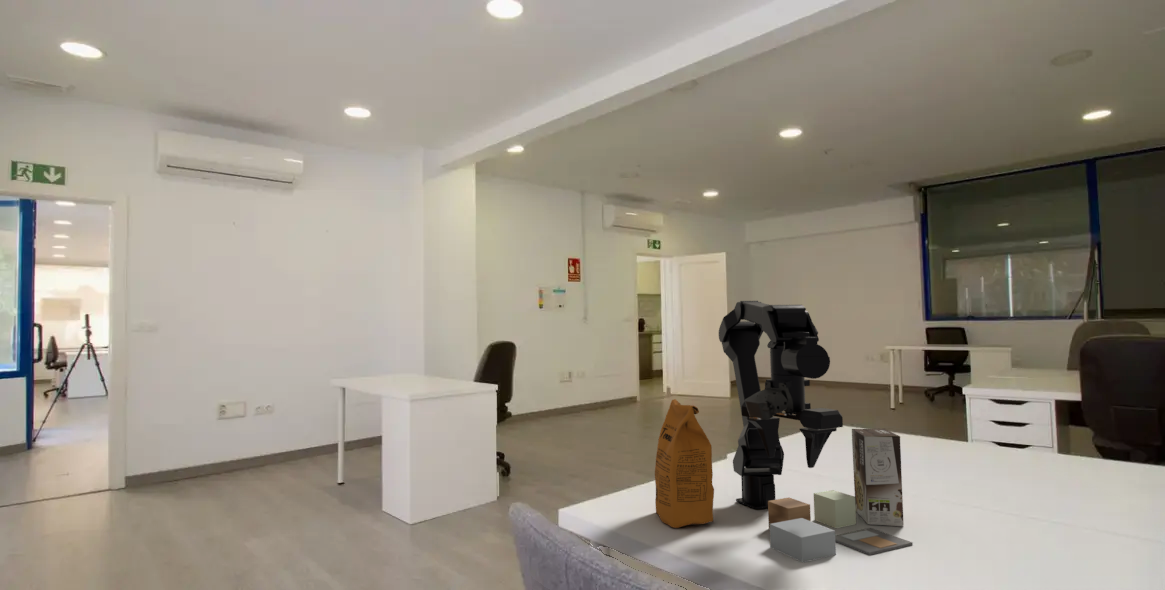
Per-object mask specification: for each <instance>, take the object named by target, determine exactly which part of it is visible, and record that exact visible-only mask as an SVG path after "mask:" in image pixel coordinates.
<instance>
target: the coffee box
mask: <svg viewBox="0 0 1165 590" xmlns="http://www.w3.org/2000/svg"><path fill="white" fill-rule="evenodd" d="M851 445H852V446H851V447H852V463H853V464H852V466H853V467H852V468H853V484H854V485H853V486H854V488H853V489H854V497H855V508H856V514H858V515H859V516H860V518H862V519H863V521H865V523H866V524H867V525H873V526H888V527H889V526H890V527H891V526H892V527H904V504H903V501H904V499H903V483H902V482H903V481H902V480H903V479H902V478H903V477H902V450H901V436H900V435H899V434H896V433H894V432H892V431H890V430H888V429H886V428H851Z"/></svg>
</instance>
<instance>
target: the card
mask: <svg viewBox="0 0 1165 590" xmlns="http://www.w3.org/2000/svg"><path fill="white" fill-rule="evenodd" d="M835 542H836V543H838V544H840V545H843V546H846V547H849V548H851V549H853V550H855V551H858V552H861V553H864V554H866V555H868V556H871V555H876V554H880V553H886V552H889V551H893V550H897V549H901V548H906V547H910V546H913V543H914V542H913V541H909V540H907V539H904V538H900V537H898V536H895V535H893V534H889V533H886V532H884V531H881V530H877V529H875V528H872V527H868V528H864V529H859V530H854V531H848V532H845V533H839V534H835Z"/></svg>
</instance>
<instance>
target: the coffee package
mask: <svg viewBox="0 0 1165 590" xmlns="http://www.w3.org/2000/svg"><path fill="white" fill-rule="evenodd" d="M699 413H700V410H699V408H698V407H697V406H695V405H691V404H690V405H689V404H681V403H680V402H679V401H678V400H677V399H676V398H675V399H672V400H671V402H670V404H669V407H668V410H667V413H666V414H665V419H664V421H663V423H662V426H661V429H660V432H659V437H658V442H657V449H656V454H655V466H654V482H655V513H656V514H657V515H658V517H659V518H660V519H659V520H661V522H662V523H663V524H666V525H668V526H670V527H671V528H673V529H674V528H675V529H679V528H681V527H685V526H690V525H704V524H705V525H706V524H707V523H712V522H713V521H714V497H715V488H714V485H713V475H714V473H713V459H712V458H713V454H712V453H713V452H712V451H713V449H712V448H713V447H712V444H711V442H710V439H709V438H708V436H707V434H706V433H705V431H704V429H703V428H702V426H701V425H700V423H699V422H698V421H699V420H698V419H697V417H696V415H698V414H699Z"/></svg>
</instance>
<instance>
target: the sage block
mask: <svg viewBox="0 0 1165 590" xmlns="http://www.w3.org/2000/svg"><path fill="white" fill-rule="evenodd" d="M813 514H814V516H813V517H814V518H813V519H814V521H815V522H819V523H821V524H824V525H826V526H829V527H832V528H835V529H839V528H844V527H848V526H855V525H856V524H857V515H856V514H857V512H856V508H855V495H851V494H847V493H844V492H841V491H837V490H836V489H835V490H834V489H832V490H826V491H819V492H814V493H813Z"/></svg>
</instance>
